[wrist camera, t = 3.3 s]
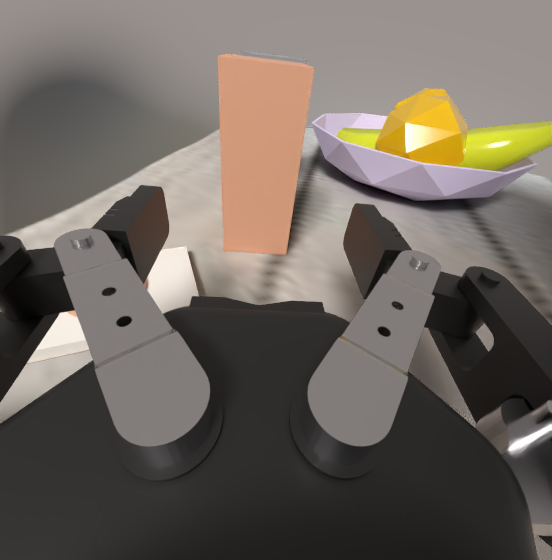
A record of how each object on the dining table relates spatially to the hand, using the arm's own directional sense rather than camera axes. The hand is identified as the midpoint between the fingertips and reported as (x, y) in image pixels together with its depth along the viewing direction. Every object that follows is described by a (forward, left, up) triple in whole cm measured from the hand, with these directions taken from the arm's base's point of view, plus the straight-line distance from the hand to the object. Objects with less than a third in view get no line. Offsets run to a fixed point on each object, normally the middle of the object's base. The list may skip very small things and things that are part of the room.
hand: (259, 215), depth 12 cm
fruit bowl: (-28, -18, -7) cm, 34 cm away
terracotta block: (-3, -9, -7) cm, 12 cm away
